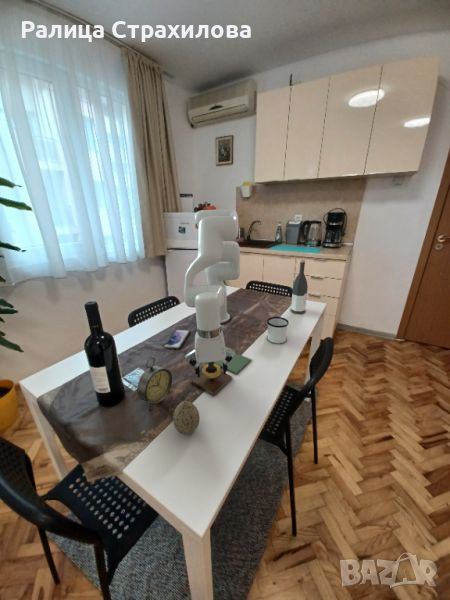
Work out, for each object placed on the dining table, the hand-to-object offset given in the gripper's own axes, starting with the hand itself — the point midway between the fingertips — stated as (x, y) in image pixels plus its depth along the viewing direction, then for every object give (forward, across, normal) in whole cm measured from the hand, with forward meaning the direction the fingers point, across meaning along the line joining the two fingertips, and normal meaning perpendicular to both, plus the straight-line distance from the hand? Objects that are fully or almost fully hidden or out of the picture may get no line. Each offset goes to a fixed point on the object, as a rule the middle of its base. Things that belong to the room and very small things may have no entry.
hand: (211, 373), depth 83 cm
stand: (+3, 0, 0) cm, 3 cm away
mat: (+3, -6, -13) cm, 14 cm away
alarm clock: (+4, +18, +6) cm, 20 cm away
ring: (-1, 0, 0) cm, 1 cm away
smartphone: (+3, +13, -30) cm, 33 cm away
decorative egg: (+4, +8, +18) cm, 21 cm away
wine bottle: (+4, -54, -50) cm, 73 cm away
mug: (+4, -32, -24) cm, 41 cm away
